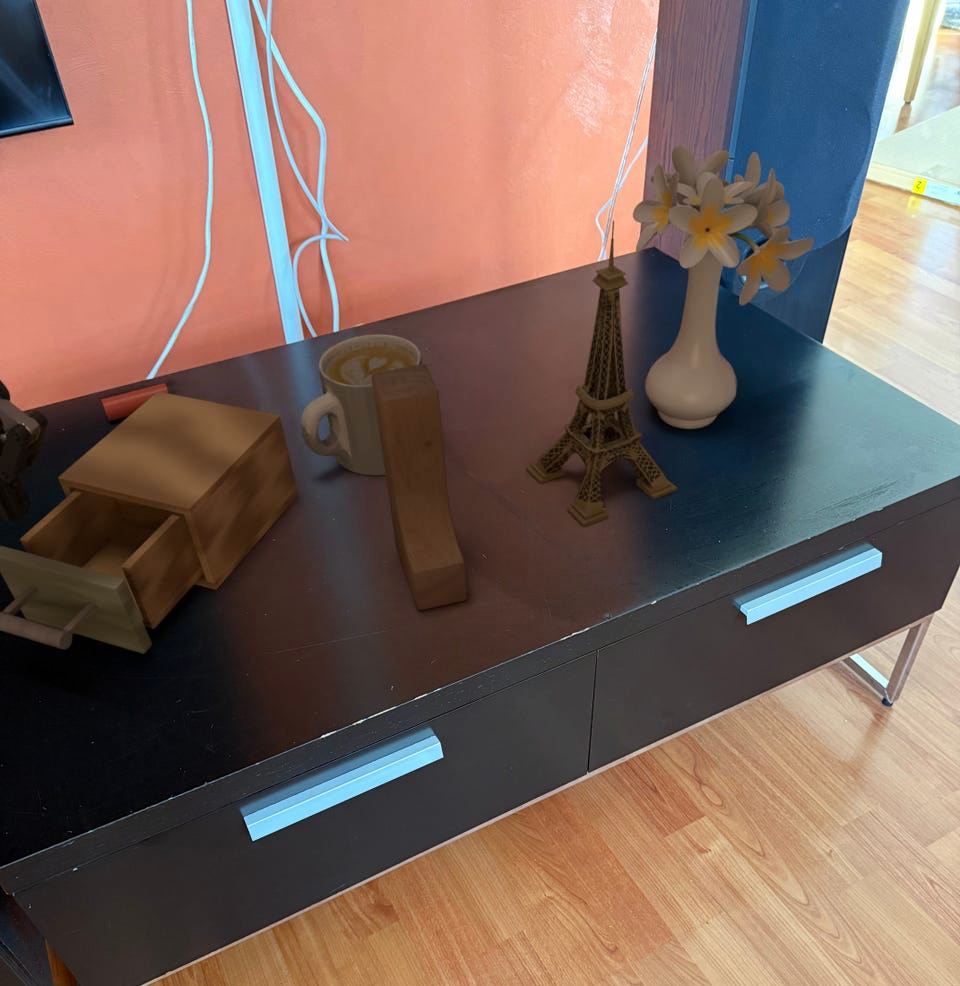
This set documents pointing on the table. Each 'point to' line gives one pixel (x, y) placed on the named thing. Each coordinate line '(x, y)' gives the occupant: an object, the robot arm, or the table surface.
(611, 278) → the eiffel tower
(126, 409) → the red cylinder
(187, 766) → the table surface
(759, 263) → the flower vase
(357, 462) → the coffee mug
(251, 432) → the cabinet
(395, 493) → the wooden block
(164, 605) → the drawer
